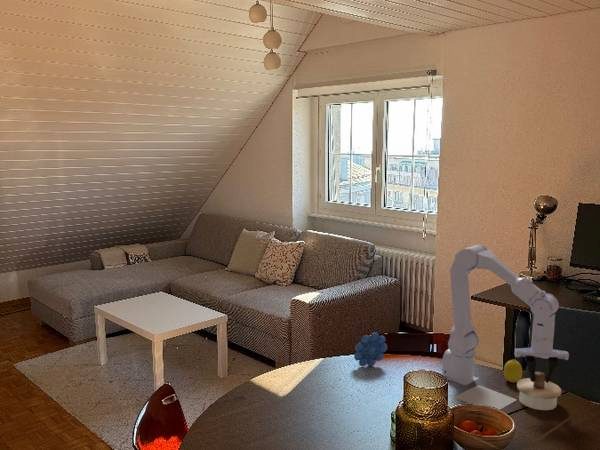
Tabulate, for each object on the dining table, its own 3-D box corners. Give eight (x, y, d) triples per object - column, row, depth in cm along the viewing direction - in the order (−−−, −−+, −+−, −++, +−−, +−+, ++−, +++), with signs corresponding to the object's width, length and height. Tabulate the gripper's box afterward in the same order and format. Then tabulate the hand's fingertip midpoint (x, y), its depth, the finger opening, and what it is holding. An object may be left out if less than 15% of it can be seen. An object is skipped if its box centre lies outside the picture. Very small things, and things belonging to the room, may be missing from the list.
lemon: (522, 387, 178) (524, 363, 177) (504, 386, 179) (505, 362, 178) (519, 380, 183) (521, 356, 182) (501, 378, 184) (503, 355, 183)
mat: (453, 398, 170) (454, 397, 170) (478, 386, 179) (478, 384, 178) (493, 415, 161) (493, 413, 160) (517, 401, 169) (517, 399, 169)
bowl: (512, 402, 168) (513, 388, 168) (529, 392, 175) (530, 378, 174) (545, 415, 161) (546, 400, 160) (562, 404, 167) (563, 390, 166)
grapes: (382, 360, 199) (383, 327, 197) (389, 367, 192) (390, 334, 190) (350, 362, 197) (351, 329, 195) (356, 370, 190) (356, 336, 188)
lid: (508, 388, 167) (510, 372, 167) (529, 377, 175) (530, 362, 174) (548, 402, 158) (550, 386, 158) (568, 390, 166) (569, 375, 165)
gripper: (519, 340, 161) (516, 385, 164) (573, 342, 159) (569, 388, 162) (514, 331, 168) (511, 374, 170) (565, 334, 166) (561, 377, 169)
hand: (539, 380), depth 167 cm, fingers open, 3 cm apart
